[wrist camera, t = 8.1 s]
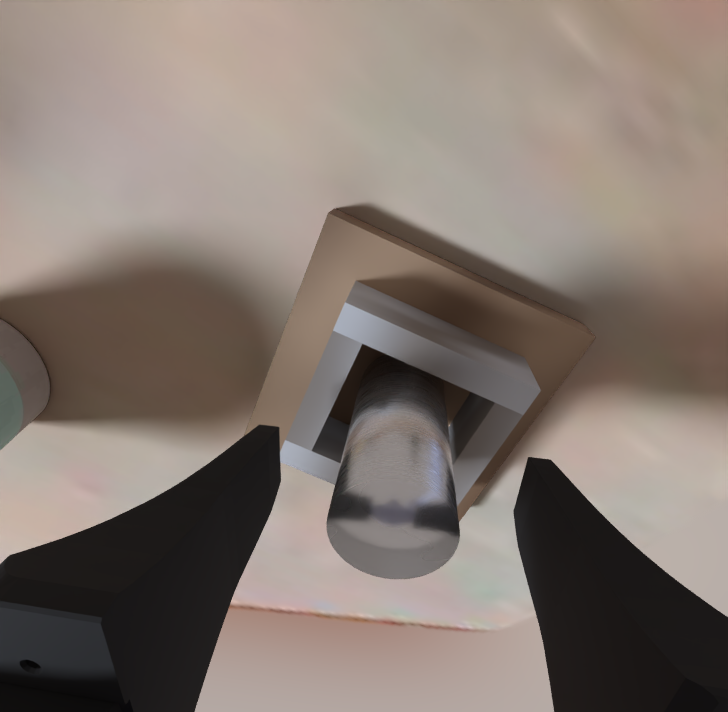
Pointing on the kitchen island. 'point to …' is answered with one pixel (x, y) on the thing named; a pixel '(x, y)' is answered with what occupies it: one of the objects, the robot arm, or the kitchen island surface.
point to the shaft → (396, 476)
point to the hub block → (411, 351)
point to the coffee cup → (19, 383)
